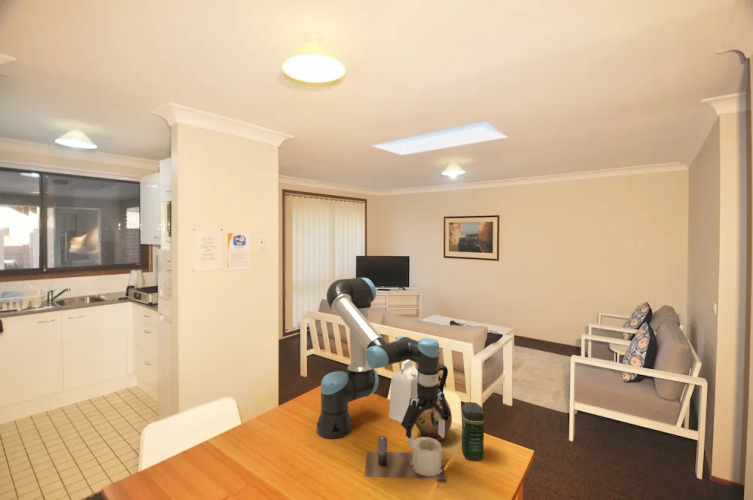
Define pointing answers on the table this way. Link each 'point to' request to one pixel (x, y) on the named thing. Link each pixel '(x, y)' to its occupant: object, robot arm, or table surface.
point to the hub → (424, 473)
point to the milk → (402, 390)
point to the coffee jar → (472, 431)
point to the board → (395, 467)
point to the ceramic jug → (434, 414)
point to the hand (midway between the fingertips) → (426, 440)
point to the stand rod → (382, 451)
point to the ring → (427, 455)
